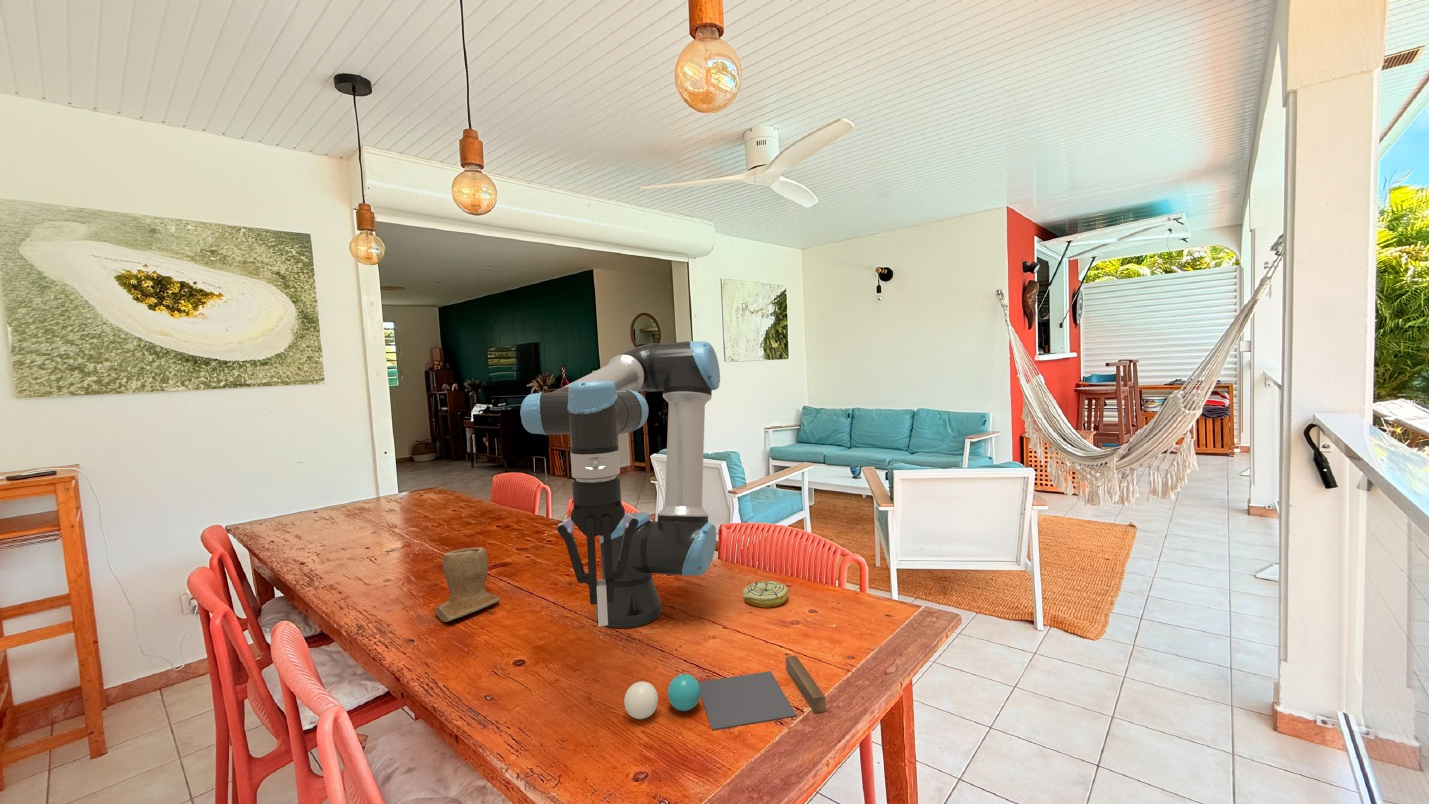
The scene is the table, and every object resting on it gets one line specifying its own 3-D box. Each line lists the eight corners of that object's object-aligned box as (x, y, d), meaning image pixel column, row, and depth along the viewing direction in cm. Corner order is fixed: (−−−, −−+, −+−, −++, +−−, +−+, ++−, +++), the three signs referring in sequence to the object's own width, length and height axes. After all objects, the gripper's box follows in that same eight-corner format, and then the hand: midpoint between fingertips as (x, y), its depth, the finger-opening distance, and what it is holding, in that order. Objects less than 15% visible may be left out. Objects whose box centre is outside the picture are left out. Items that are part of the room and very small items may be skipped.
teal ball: (656, 698, 93) (674, 669, 94) (668, 692, 98) (686, 664, 99) (681, 722, 91) (700, 692, 91) (693, 714, 96) (710, 686, 96)
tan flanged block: (478, 595, 148) (475, 539, 148) (506, 604, 142) (503, 545, 141) (421, 617, 136) (417, 555, 135) (449, 628, 129) (445, 563, 128)
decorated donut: (750, 591, 145) (749, 576, 145) (791, 595, 142) (791, 580, 142) (738, 607, 135) (738, 592, 135) (782, 612, 132) (782, 596, 132)
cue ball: (655, 677, 92) (669, 706, 93) (638, 671, 97) (651, 698, 97) (629, 701, 89) (644, 730, 90) (612, 694, 93) (626, 722, 94)
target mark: (712, 730, 89) (712, 729, 89) (696, 683, 103) (696, 682, 103) (796, 716, 92) (796, 715, 92) (770, 672, 105) (770, 671, 105)
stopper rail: (814, 713, 92) (813, 698, 92) (786, 669, 106) (785, 656, 106) (825, 711, 93) (825, 696, 93) (796, 668, 106) (795, 655, 106)
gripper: (552, 485, 85) (560, 638, 87) (638, 478, 88) (645, 627, 89) (555, 476, 93) (562, 617, 94) (635, 470, 95) (641, 608, 97)
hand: (603, 622), depth 92 cm, fingers closed
